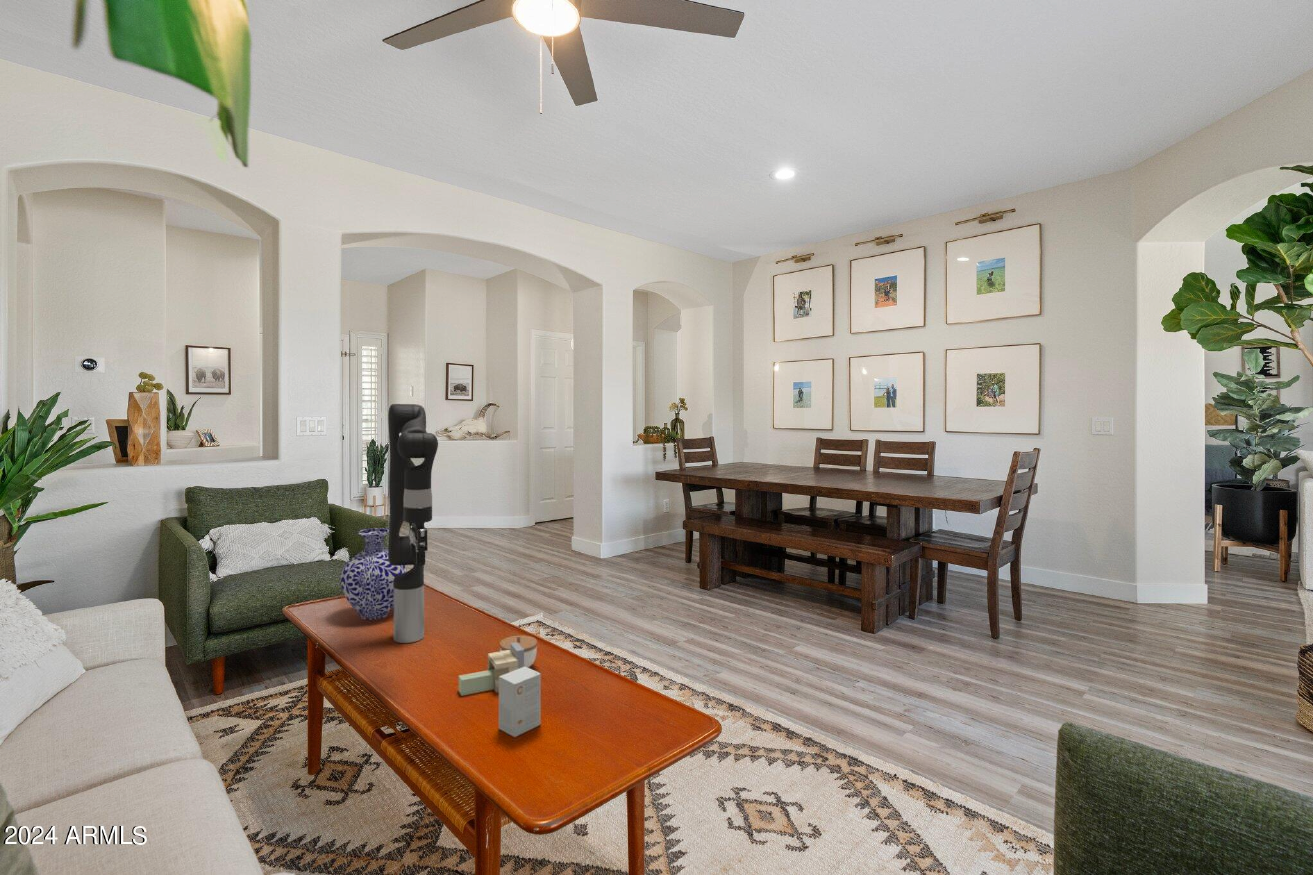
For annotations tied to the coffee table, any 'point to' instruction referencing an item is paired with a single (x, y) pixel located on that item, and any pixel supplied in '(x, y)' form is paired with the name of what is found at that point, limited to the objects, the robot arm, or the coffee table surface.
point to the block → (501, 665)
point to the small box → (519, 701)
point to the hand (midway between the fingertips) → (418, 561)
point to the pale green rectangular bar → (476, 682)
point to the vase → (371, 577)
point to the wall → (518, 653)
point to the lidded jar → (526, 643)
